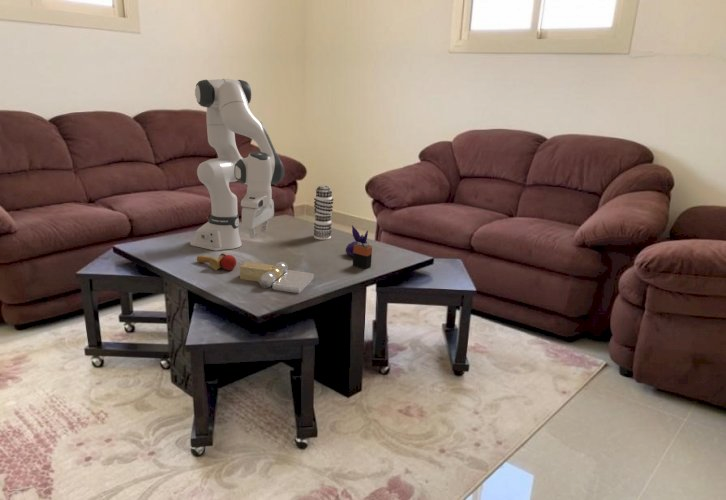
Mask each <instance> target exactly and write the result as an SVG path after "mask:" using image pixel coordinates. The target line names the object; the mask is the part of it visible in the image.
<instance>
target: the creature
mask: <svg viewBox="0 0 726 500" xmlns="http://www.w3.org/2000/svg"><path fill="white" fill-rule="evenodd" d="M351 228H352V229H351V230H352V231H351V232H352V237H353V239H354V240H353V241H351V242H350V243H348V244H347V245H346V247H345V252H346V254H347V255H349V257H351V256H352V257H353V250H354V245H356V244H358V242H361V244H368V242H367V240H368V235H369V234H368V233H369V230H367V231H366V232H365V234H363V233H362V235H360V232H359V231H358V230H357V228H356V227H354V225H353V224H352V225H351Z"/></svg>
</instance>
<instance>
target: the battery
mask: <svg viewBox="0 0 726 500" xmlns="http://www.w3.org/2000/svg"><path fill="white" fill-rule="evenodd" d="M372 254H373V245H370V243H367V244H361V242H358V244H356V245H354V250H353V256H352V266H354V267H358V268H361V269H364V270H366V269H368V268H371V266H372Z"/></svg>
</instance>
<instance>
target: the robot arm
mask: <svg viewBox="0 0 726 500" xmlns="http://www.w3.org/2000/svg"><path fill="white" fill-rule="evenodd" d="M194 95H195V99H196V102H197V103H198V105H199V106H201V107H203V108H206V115H205V116H206V117H205V118H206V119H205V120H206V130H207V142H208V144H209V146H210V147H211V148H213V149H214V150H215V152H216V155H217V158H211V159H207V160H205V161H203V162H201V163H199V165H198V166H197V170H196V175H197V177H198V180H199V181H200V183H202V184H203V185H204V186H205V187H206V189H207V191H208V193H209V197H210V204H211V207H210V208H211V213H209V214H208V215H206V216H205V217H206V220H208V221H207V222H206V223H204V224H203V225H202V226H200V227H199V228H197V229H196V232H195V237H194V238H193V239H192V240H191V241H190V242H189V245H190V246H192V247H197V248H202V249H206V250H211V251H215V252H217V251H222V250H223V251H224V250H233V249H237V248H239V247H241V246H242V245H243V244H242V240H241V237H240V236H241V235H240V229H239V224H240V219H239V218H240V217H239V213H238V197H237V195H236V194H235V193H233V192H232V191H231V189H230V183H235V182H238V183H239V184H242V185H247V187H246V193H245V195H244V197H243V198H242V199H241V200H240V206H241V207H242V208H241V225H242V227H243V229H248V232H249V237H250V239H256V238H257V233H256V227H259V225H261V226H260V227H261V228H260V231H261V232H264V233H265V232H267V231H268V225H269V223H270V222H269V221H270V219H272V218H273V217H274V215H275V204H274V199H272V195H273V192H272V190H273V189H272V186H271V185H278V184H279V183H280V182H281V181H282V180H283V178H284V177H285V174H286V173H285V166H284V164H283V162H282V160H281V158H280V157H279V155H278V153H277V152H276V149H275V147H274V144H273V143H272V141H271V140H272V139H271V138H270V135H269V134H268V132H267V130H266V127H265V125H264V124H263V122H262V121H260V120H259V119H258V118H257V117H256V116H255V115H254V114H253V113H252V109H250V106H249V105H250V103H251V101H252V89H251V86H250V83H249V82H247V81H245V80H241V79H231V78H230V79H229V78H222V79H220V78H218V79H209V80H208V79H201V80H199V81H198V82H197V83H196V85H195V88H194ZM236 134H238V135H241V136H243V137H244V136H245V137H247V138H249V139H251V140H252V141H254V142H255V143H256V144H257V146H258V149H259V150H260V151H251V152H250V153H249V154H248V156H247V157H243V156H242V155H241V154H240V151H239V150H238V146H237V143H236Z"/></svg>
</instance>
